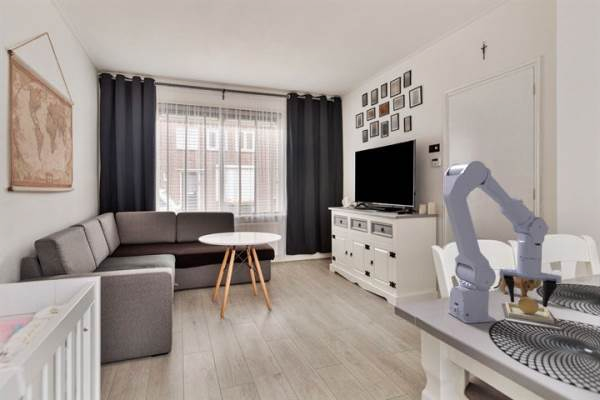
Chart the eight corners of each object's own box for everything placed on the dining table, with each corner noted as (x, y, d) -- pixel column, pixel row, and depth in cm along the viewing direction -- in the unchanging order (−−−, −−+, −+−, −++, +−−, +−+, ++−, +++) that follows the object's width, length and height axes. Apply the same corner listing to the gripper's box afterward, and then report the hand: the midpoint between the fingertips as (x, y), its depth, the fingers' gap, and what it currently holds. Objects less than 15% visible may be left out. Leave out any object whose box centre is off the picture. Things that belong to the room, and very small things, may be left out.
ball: (527, 317, 89) (528, 300, 89) (513, 310, 94) (514, 294, 94) (542, 316, 90) (543, 299, 90) (527, 310, 95) (528, 294, 95)
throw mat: (561, 331, 81) (561, 326, 81) (506, 321, 87) (506, 316, 87) (548, 311, 95) (549, 306, 95) (501, 304, 101) (501, 300, 101)
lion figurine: (543, 300, 105) (544, 273, 105) (537, 303, 102) (538, 275, 102) (496, 288, 117) (497, 264, 117) (489, 290, 114) (489, 266, 114)
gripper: (557, 257, 92) (556, 303, 92) (498, 252, 99) (497, 295, 99) (563, 262, 85) (562, 311, 86) (500, 256, 92) (499, 302, 93)
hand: (528, 303), depth 92 cm, fingers open, 7 cm apart
